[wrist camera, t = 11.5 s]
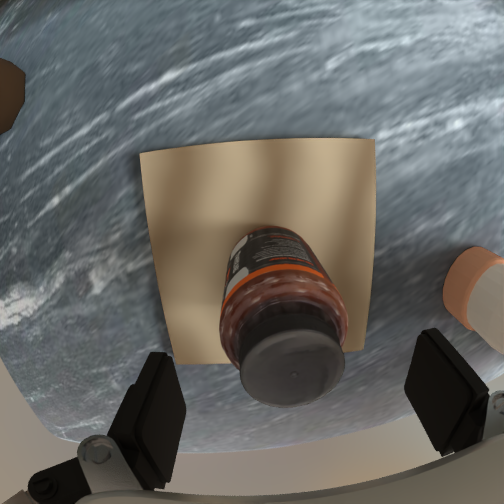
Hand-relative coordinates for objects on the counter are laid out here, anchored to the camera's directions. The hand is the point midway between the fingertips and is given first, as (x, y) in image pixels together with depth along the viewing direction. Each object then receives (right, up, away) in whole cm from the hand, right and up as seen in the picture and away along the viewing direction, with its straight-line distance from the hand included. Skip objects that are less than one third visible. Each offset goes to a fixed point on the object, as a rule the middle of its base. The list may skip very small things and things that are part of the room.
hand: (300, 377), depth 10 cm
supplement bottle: (-1, +4, +11) cm, 12 cm away
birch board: (-1, +4, +12) cm, 13 cm away
